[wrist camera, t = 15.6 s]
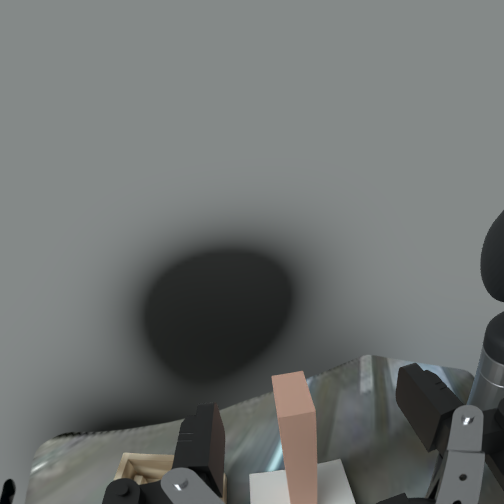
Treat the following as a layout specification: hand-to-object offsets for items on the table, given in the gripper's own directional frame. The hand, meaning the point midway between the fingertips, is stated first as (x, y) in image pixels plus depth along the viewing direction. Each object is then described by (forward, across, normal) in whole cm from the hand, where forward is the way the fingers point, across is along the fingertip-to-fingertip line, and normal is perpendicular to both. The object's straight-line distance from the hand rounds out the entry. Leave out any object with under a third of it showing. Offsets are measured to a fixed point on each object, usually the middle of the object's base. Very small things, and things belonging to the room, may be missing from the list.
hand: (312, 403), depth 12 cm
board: (+11, 0, +28) cm, 31 cm away
